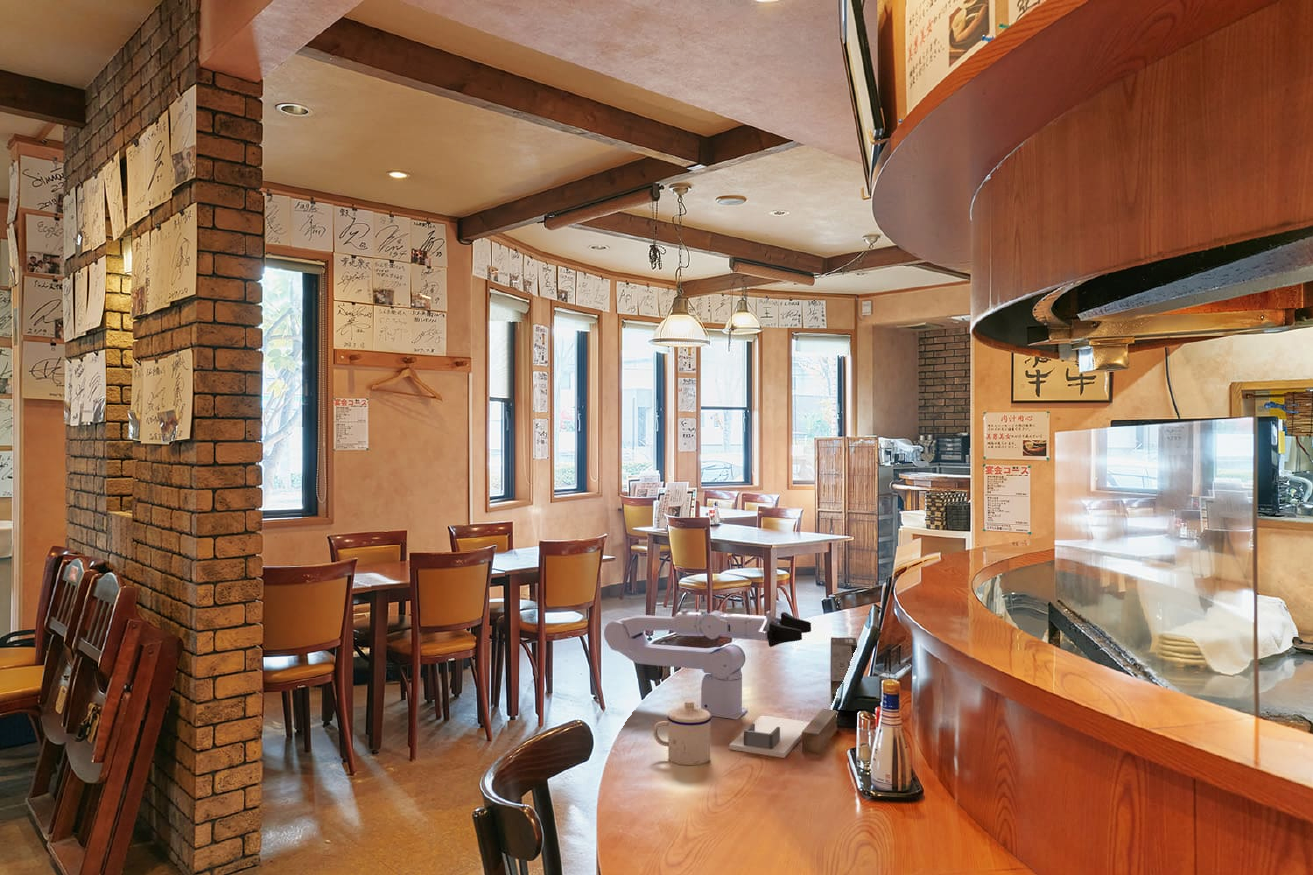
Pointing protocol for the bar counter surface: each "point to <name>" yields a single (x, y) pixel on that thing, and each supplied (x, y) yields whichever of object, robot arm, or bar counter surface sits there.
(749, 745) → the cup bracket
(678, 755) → the teacup with lid
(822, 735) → the rail
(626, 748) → the bar counter surface
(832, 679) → the coffee box
